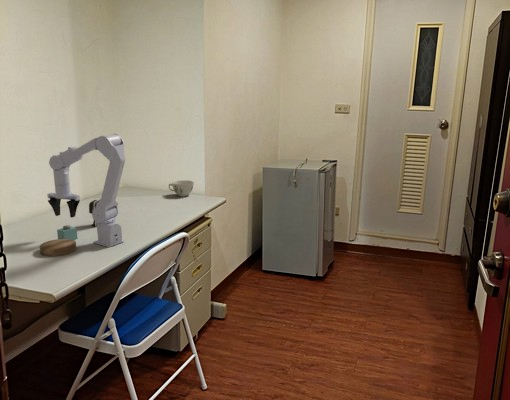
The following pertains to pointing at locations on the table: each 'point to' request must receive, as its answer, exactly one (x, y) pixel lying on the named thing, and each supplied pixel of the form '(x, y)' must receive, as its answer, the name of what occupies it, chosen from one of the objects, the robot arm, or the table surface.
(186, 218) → the table surface
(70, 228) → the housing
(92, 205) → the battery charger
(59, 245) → the stand
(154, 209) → the table surface
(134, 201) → the table surface
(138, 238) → the table surface
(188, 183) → the teacup
